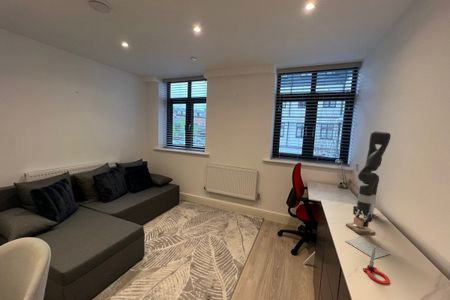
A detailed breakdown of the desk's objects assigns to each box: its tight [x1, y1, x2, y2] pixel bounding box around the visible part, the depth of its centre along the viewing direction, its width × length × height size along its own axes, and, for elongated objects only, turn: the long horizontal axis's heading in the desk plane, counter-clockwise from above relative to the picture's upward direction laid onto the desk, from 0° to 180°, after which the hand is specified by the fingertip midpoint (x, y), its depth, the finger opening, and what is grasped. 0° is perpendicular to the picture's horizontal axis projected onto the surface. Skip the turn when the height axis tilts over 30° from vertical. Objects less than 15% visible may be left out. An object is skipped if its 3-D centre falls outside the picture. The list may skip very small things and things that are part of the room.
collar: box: [353, 216, 370, 228], centre depth 134 cm, size 6×6×4 cm
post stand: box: [345, 217, 376, 236], centre depth 134 cm, size 12×12×8 cm
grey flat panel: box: [345, 237, 391, 260], centre depth 112 cm, size 23×25×1 cm
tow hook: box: [362, 247, 391, 286], centre depth 90 cm, size 8×13×9 cm
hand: (360, 224), depth 134 cm, fingers closed on collar, 6 cm apart
